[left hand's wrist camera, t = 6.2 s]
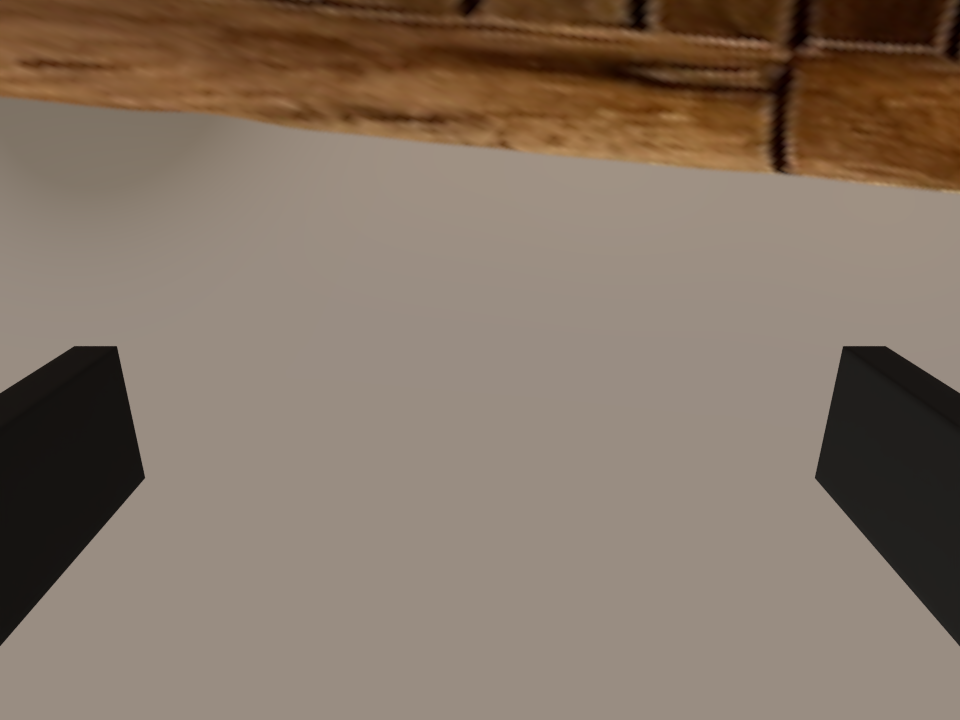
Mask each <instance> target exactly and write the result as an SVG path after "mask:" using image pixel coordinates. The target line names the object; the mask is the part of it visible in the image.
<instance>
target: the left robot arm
mask: <svg viewBox="0 0 960 720" xmlns="http://www.w3.org/2000/svg"><path fill="white" fill-rule="evenodd" d="M144 479H145V476H144V471H143V466H142V462H141V457H140V452H139V447H138V443H137V438H136V433H135V429H134V424H133V419H132V415H131V410H130V405H129V401H128V396H127V391H126V387H125V382H124V378H123V373H122V368H121V364H120V359H119V354H118V349H117V346H74V347H73V348H71V349H69V350H68V351H66V352H65V353H63V354H62V355H60V356H58V357H57V358H55V359H54V360H52V361H50V362H49V363H47V364H46V365H44V366H43V367H41V368H39V369H38V370H36V371H35V372H33V373H32V374H30V375H28V376H27V377H25V378H24V379H22V380H20V381H19V382H17V383H16V384H14V385H13V386H11V387H9V388H8V389H6V390H5V391H3V392H2V393H0V646H1V644H2V643H3V642H4V641H5V640H6V639H7V638H8V636H9V635H10V634H11V633H12V632H13V631H14V629H15V628H16V627H17V626H18V625H19V624H20V622H21V621H22V620H23V619H24V618H25V617H26V615H27V614H28V613H29V612H30V611H31V610H32V609H33V607H34V606H35V605H36V604H37V603H38V602H39V600H40V599H41V598H42V597H43V596H44V595H45V593H46V592H47V591H48V590H49V589H50V588H51V587H52V585H53V584H54V583H55V582H56V581H57V580H58V578H59V577H60V576H61V575H62V574H63V573H64V571H65V570H66V569H67V568H68V567H69V566H70V564H71V563H72V562H73V561H74V560H75V559H76V557H77V556H78V555H79V554H80V553H81V552H82V550H83V549H84V548H85V547H86V546H87V545H88V544H89V542H90V541H91V540H92V539H93V538H94V537H95V535H96V534H97V533H98V532H99V531H100V530H101V528H102V527H103V526H104V525H105V524H106V523H107V522H108V520H109V519H110V518H111V517H112V516H113V515H114V513H115V512H116V511H117V510H118V509H119V508H120V506H121V505H122V504H123V503H124V502H125V501H126V499H127V498H128V497H129V496H130V495H131V494H132V493H133V491H134V490H135V489H136V488H137V487H138V486H139V484H140V483H141V482H142V481H143V480H144ZM815 479H816V480H817V481H818V482H819V483H820V484H821V486H822V487H823V488H824V489H825V490H826V491H827V493H828V494H829V495H830V496H831V497H832V498H833V499H834V501H835V502H836V503H837V504H838V505H839V506H840V508H841V509H842V510H843V511H844V512H845V513H846V515H847V516H848V517H849V518H850V519H851V520H852V522H853V523H854V524H855V525H856V526H857V527H858V528H859V530H860V531H861V532H862V533H863V534H864V535H865V537H866V538H867V539H868V540H869V541H870V542H871V544H872V545H873V546H874V547H875V548H876V549H877V551H878V552H879V553H880V554H881V555H882V556H883V557H884V559H885V560H886V561H887V562H888V563H889V564H890V566H891V567H892V568H893V569H894V570H895V571H896V573H897V574H898V575H899V576H900V577H901V578H902V580H903V581H904V582H905V583H906V584H907V585H908V587H909V588H910V589H911V590H912V591H913V592H914V593H915V595H916V596H917V597H918V598H919V599H920V600H921V601H922V603H923V604H924V605H925V606H926V607H927V609H928V610H929V611H930V612H931V613H932V614H933V616H934V617H935V618H936V619H937V620H938V621H939V622H940V624H941V625H942V626H943V627H944V628H945V629H946V631H947V632H948V633H949V634H950V635H951V636H952V638H953V639H954V640H955V641H956V642H957V643H958V645H959V646H960V393H958V392H957V391H955V390H954V389H952V388H951V387H949V386H947V385H946V384H944V383H943V382H941V381H940V380H938V379H936V378H935V377H933V376H932V375H930V374H928V373H927V372H925V371H924V370H922V369H921V368H919V367H917V366H916V365H914V364H913V363H911V362H910V361H908V360H906V359H905V358H903V357H902V356H900V355H898V354H897V353H895V352H894V351H892V350H891V349H889V348H887V347H886V346H844V347H843V349H842V354H841V359H840V363H839V368H838V373H837V377H836V382H835V387H834V392H833V396H832V401H831V406H830V410H829V415H828V420H827V424H826V429H825V433H824V438H823V443H822V448H821V452H820V457H819V462H818V466H817V471H816V475H815Z"/></svg>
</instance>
